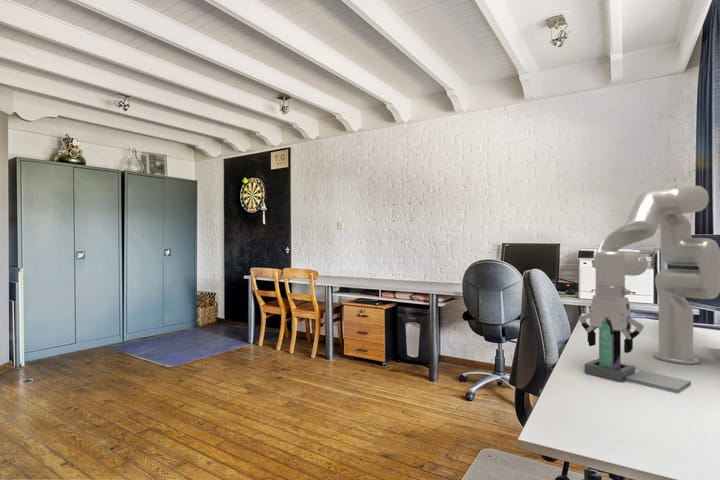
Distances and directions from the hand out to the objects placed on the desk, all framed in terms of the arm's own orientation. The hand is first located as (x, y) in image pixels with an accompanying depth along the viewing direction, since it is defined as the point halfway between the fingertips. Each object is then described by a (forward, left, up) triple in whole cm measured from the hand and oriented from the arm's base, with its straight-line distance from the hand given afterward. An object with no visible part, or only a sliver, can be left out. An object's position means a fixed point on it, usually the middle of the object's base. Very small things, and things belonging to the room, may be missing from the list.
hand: (609, 348), depth 119 cm
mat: (-4, +11, -8) cm, 14 cm away
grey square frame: (0, 0, -8) cm, 8 cm away
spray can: (0, 0, -8) cm, 8 cm away
